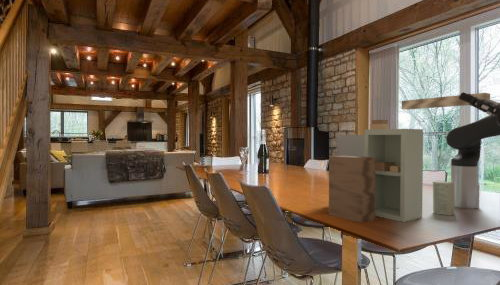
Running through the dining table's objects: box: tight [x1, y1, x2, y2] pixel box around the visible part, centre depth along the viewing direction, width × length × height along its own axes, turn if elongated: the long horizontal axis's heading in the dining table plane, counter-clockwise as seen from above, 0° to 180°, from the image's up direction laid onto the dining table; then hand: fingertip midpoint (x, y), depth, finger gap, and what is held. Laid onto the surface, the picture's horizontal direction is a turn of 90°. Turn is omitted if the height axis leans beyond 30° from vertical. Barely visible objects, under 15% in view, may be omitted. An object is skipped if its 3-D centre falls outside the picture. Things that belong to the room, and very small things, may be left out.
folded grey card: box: [336, 134, 365, 157], centre depth 138 cm, size 14×6×30 cm, turn 84°
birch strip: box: [401, 92, 491, 111], centre depth 109 cm, size 26×4×3 cm, turn 35°
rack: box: [364, 119, 424, 223], centre depth 121 cm, size 12×16×36 cm
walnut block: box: [328, 155, 376, 224], centre depth 118 cm, size 8×14×22 cm, turn 35°
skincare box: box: [432, 180, 456, 216], centre depth 124 cm, size 6×4×12 cm
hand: (464, 95), depth 104 cm, fingers closed on birch strip, 4 cm apart
